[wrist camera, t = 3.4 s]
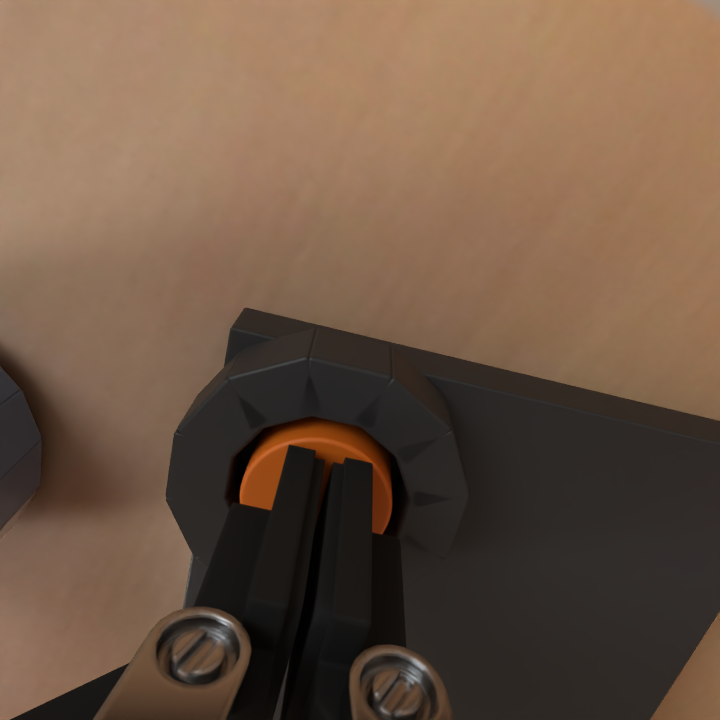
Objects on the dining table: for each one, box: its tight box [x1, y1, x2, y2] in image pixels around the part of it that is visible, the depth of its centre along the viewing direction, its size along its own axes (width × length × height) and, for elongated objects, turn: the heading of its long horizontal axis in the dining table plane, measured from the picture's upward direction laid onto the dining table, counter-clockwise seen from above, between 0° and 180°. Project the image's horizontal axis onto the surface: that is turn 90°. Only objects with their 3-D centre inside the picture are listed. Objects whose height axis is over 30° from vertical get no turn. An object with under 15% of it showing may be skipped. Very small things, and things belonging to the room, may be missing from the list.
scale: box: [166, 308, 720, 720], centre depth 15 cm, size 16×14×3 cm
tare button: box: [239, 416, 392, 534], centre depth 12 cm, size 3×3×2 cm
